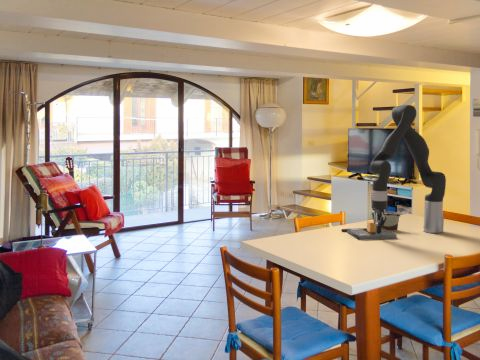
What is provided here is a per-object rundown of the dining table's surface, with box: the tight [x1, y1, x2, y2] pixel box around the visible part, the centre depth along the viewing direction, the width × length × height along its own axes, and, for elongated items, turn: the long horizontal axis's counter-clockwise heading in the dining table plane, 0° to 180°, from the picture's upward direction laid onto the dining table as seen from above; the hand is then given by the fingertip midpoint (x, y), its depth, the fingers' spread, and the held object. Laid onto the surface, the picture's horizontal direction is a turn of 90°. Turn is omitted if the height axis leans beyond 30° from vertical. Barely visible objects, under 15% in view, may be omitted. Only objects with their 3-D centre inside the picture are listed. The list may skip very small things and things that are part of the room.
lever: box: [366, 220, 376, 235], centre depth 251 cm, size 4×4×7 cm
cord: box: [346, 230, 359, 240], centre depth 250 cm, size 17×1×1 cm, turn 7°
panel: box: [346, 227, 398, 241], centre depth 252 cm, size 20×18×2 cm
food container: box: [381, 210, 401, 232], centre depth 266 cm, size 12×6×10 cm, turn 84°
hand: (378, 232), depth 242 cm, fingers closed
